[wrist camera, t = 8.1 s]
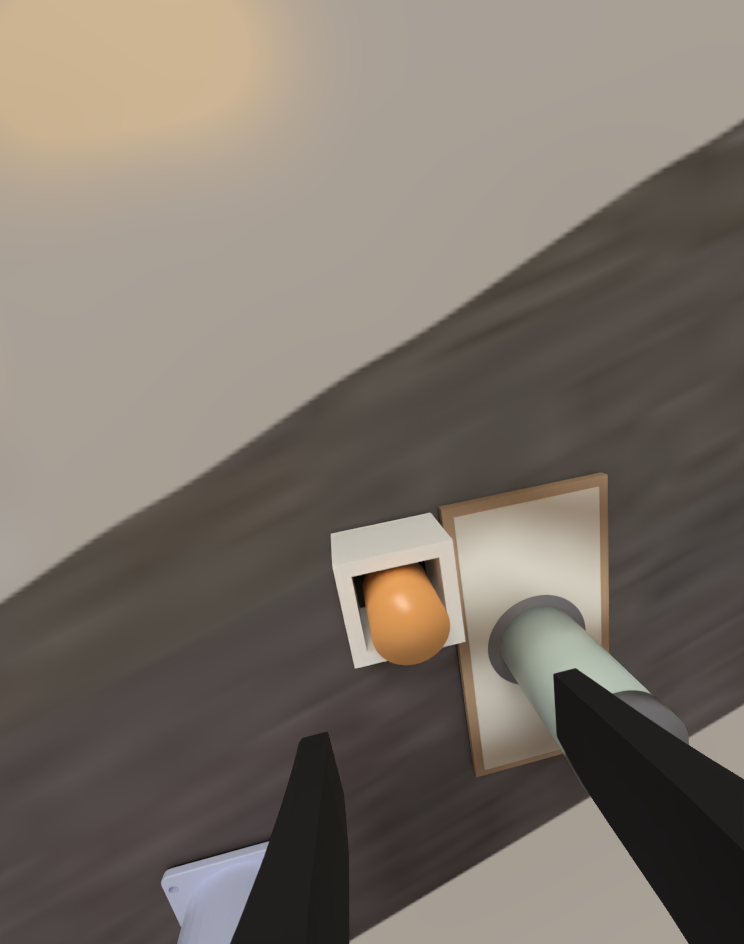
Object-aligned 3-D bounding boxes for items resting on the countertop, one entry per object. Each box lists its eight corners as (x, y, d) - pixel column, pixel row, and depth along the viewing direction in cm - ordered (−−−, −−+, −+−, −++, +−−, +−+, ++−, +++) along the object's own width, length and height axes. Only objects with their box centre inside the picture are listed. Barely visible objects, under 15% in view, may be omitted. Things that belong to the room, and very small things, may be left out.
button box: (442, 599, 18) (465, 641, 15) (349, 621, 18) (355, 668, 15) (430, 512, 17) (452, 539, 14) (330, 533, 16) (332, 566, 14)
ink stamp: (577, 664, 19) (685, 786, 14) (502, 683, 19) (580, 816, 13) (575, 597, 18) (691, 697, 12) (496, 615, 18) (578, 726, 12)
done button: (431, 606, 16) (454, 654, 13) (368, 620, 16) (379, 673, 13) (422, 549, 16) (445, 587, 13) (357, 563, 15) (365, 605, 12)
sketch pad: (604, 734, 22) (611, 743, 21) (473, 770, 21) (477, 780, 20) (601, 472, 17) (609, 475, 17) (438, 506, 17) (442, 510, 16)
